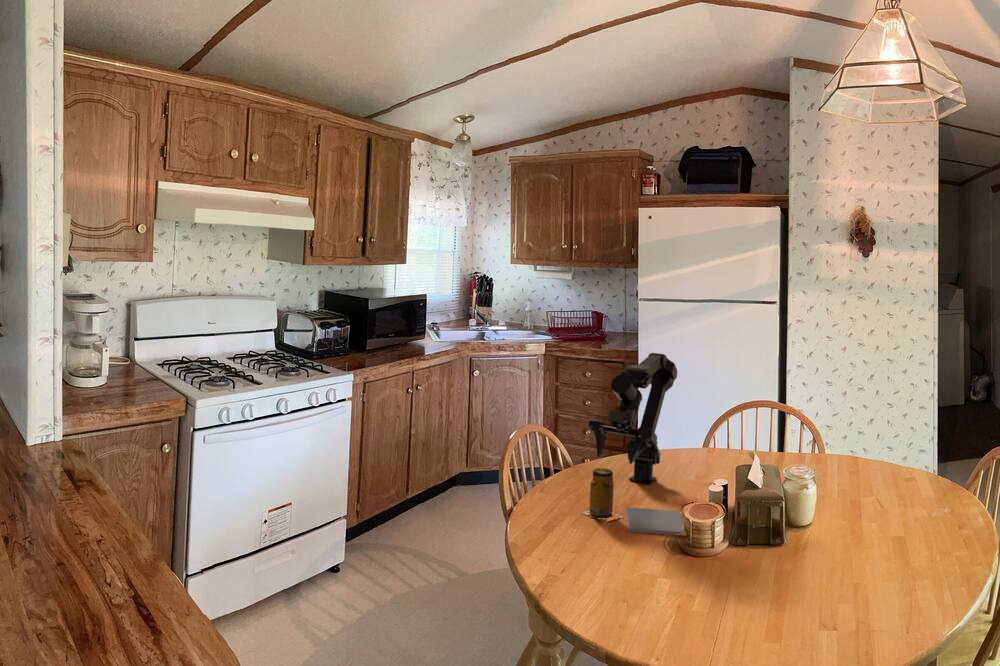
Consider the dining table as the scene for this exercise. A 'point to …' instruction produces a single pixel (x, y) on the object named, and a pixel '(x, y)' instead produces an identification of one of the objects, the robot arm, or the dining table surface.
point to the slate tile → (654, 521)
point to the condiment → (601, 495)
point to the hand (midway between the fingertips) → (614, 460)
